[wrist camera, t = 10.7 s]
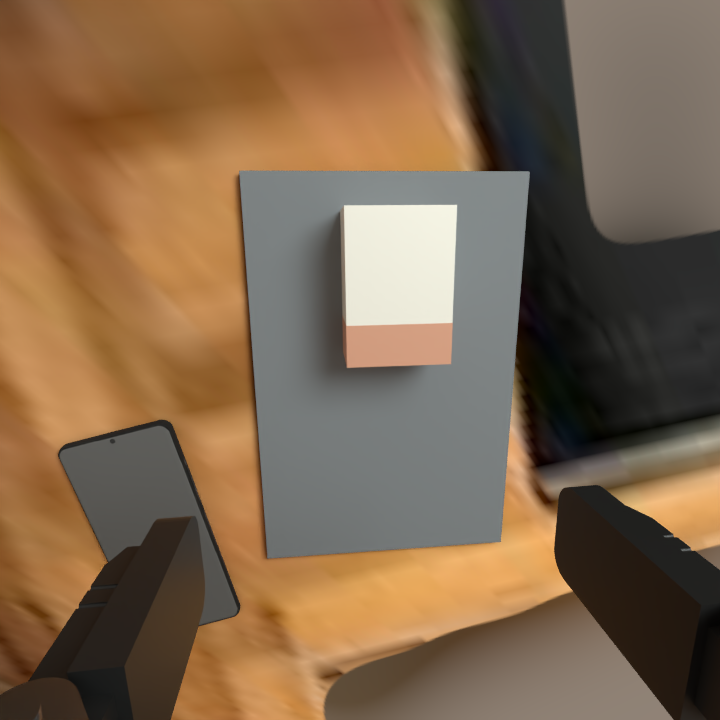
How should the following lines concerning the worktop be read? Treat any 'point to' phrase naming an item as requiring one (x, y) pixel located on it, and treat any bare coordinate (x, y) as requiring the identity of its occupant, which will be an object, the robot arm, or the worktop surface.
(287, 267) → the mat
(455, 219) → the card box
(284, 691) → the worktop surface
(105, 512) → the smartphone
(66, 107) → the worktop surface
